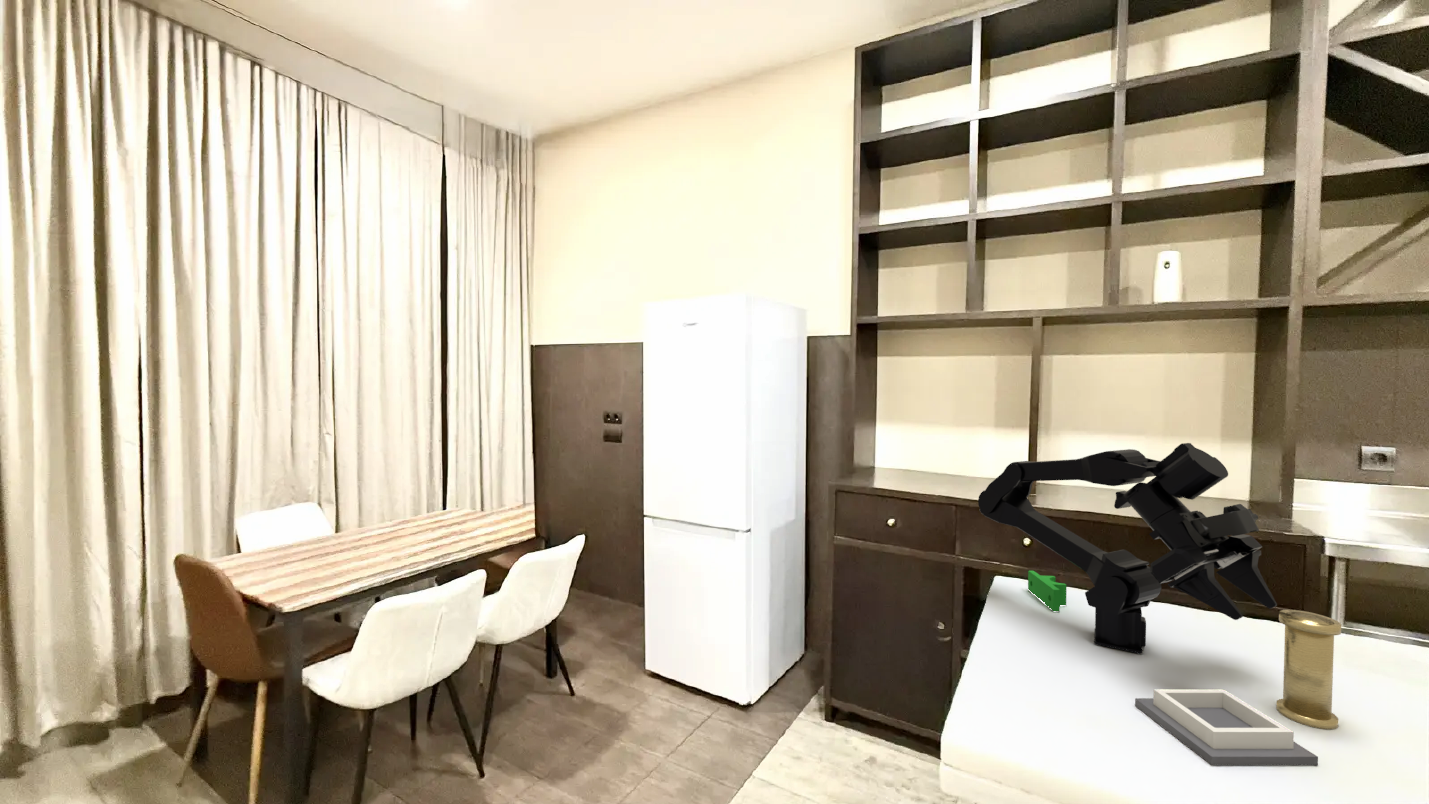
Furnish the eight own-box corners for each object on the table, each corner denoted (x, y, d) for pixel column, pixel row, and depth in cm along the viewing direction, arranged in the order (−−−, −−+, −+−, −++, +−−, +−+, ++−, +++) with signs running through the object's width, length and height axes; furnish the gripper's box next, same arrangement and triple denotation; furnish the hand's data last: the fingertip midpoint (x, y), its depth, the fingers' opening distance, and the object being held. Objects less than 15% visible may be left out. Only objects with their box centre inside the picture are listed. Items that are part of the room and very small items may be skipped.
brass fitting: (1282, 719, 73) (1284, 620, 73) (1271, 699, 78) (1274, 606, 78) (1344, 734, 70) (1348, 631, 70) (1330, 713, 75) (1333, 615, 74)
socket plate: (1211, 765, 65) (1212, 739, 65) (1135, 705, 77) (1135, 683, 77) (1317, 765, 65) (1318, 739, 65) (1224, 705, 77) (1225, 683, 77)
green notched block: (1074, 614, 108) (1074, 590, 108) (1053, 613, 108) (1053, 589, 108) (1046, 592, 119) (1047, 570, 119) (1027, 591, 119) (1028, 569, 119)
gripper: (1176, 491, 79) (1278, 596, 69) (1246, 481, 87) (1347, 574, 77) (1115, 534, 87) (1200, 634, 77) (1185, 521, 94) (1270, 611, 85)
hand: (1256, 612), depth 79 cm, fingers open, 9 cm apart
